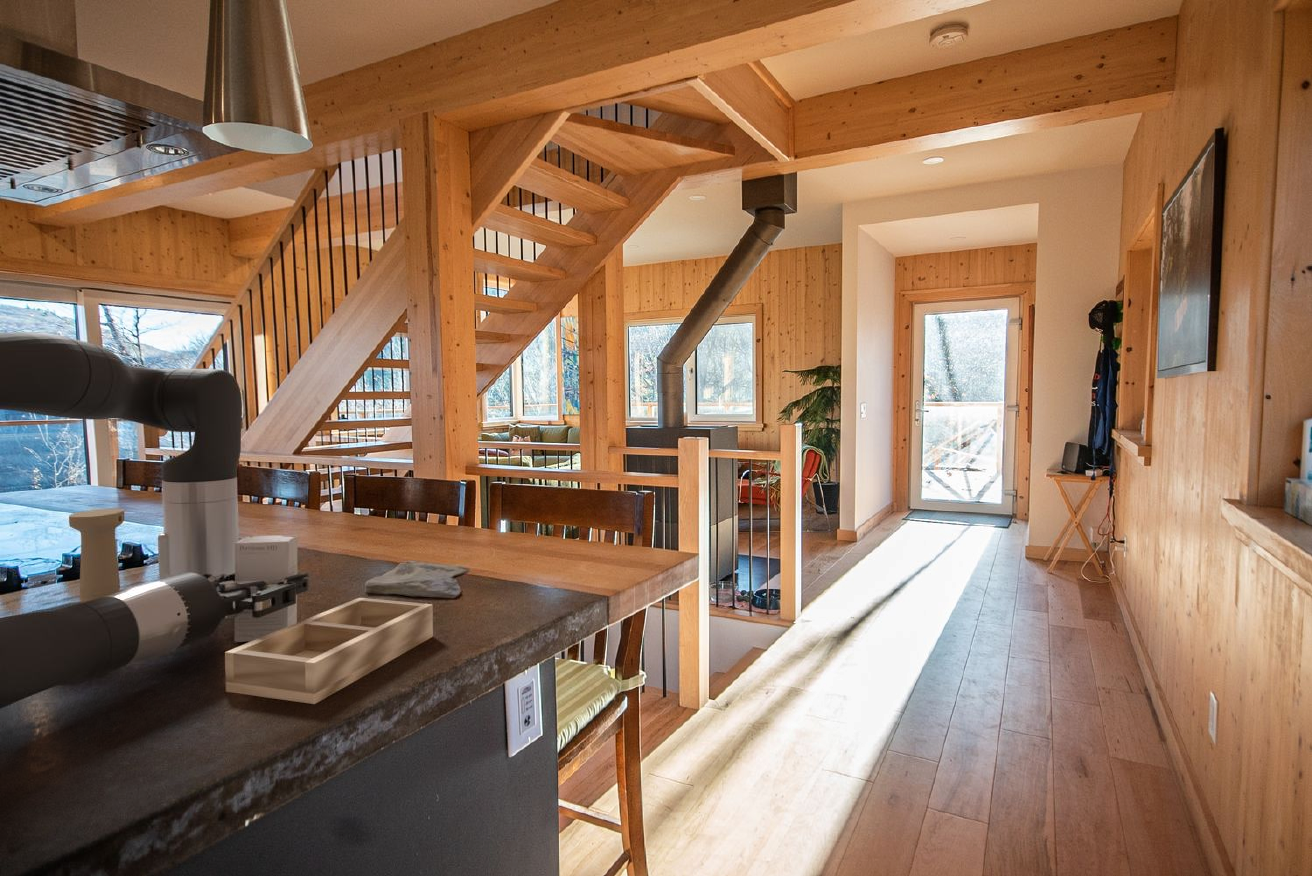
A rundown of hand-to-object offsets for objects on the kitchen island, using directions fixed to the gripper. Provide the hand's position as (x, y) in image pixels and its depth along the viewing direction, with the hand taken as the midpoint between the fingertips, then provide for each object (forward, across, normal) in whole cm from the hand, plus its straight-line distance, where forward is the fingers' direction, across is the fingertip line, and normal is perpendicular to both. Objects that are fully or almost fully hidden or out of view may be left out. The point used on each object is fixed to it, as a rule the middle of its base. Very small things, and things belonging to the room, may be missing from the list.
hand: (280, 579), depth 88 cm
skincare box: (-2, 0, +7) cm, 7 cm away
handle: (-7, +20, +7) cm, 23 cm away
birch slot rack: (-7, -14, +6) cm, 17 cm away
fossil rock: (+25, -4, +7) cm, 27 cm away
